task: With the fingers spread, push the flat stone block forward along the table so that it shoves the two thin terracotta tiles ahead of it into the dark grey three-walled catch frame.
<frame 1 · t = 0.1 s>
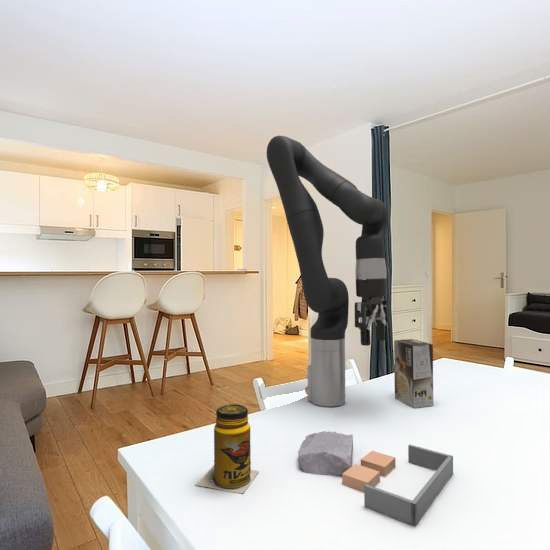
hand: (373, 342, 98), 17 cm above the table, tool pointing down, fingers open, 8 cm apart
tile b: (378, 469, 70), on the table
condiment: (228, 480, 67), on the table
coffee box: (413, 402, 106), on the table
stone block: (325, 462, 73), on the table
tile a: (361, 484, 65), on the table
catch frame: (412, 488, 63), on the table
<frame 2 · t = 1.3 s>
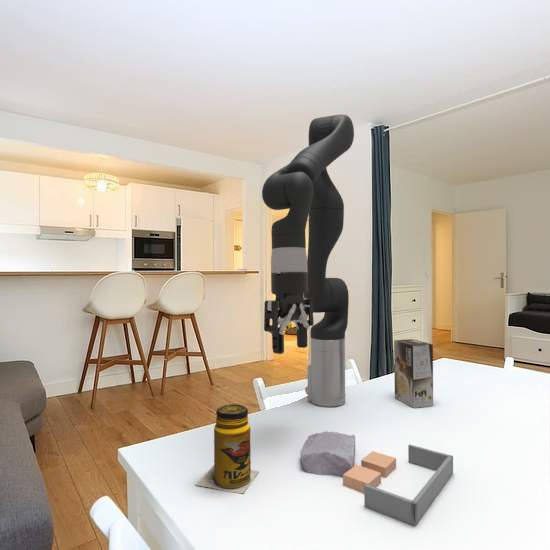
hand: (290, 350, 81), 19 cm above the table, tool pointing down, fingers open, 8 cm apart
stone block: (328, 462, 73), on the table, touching tile a
tile a: (362, 486, 65), on the table, touching stone block
everything else where it was.
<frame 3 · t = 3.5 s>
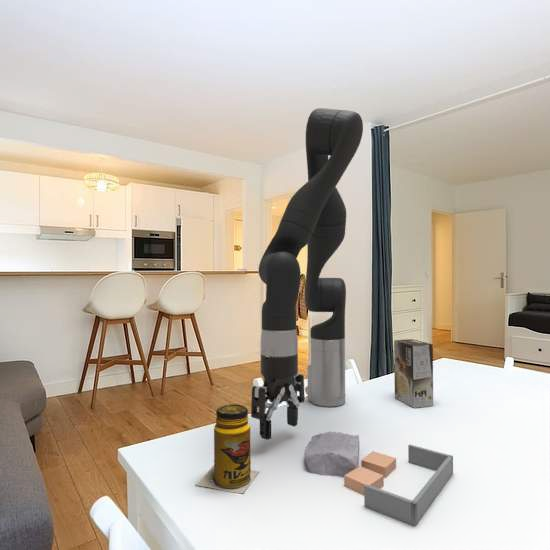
hand: (279, 431, 80), 3 cm above the table, tool pointing down, fingers open, 8 cm apart
stone block: (332, 462, 73), on the table
tile a: (363, 487, 64), on the table
everything else where it was.
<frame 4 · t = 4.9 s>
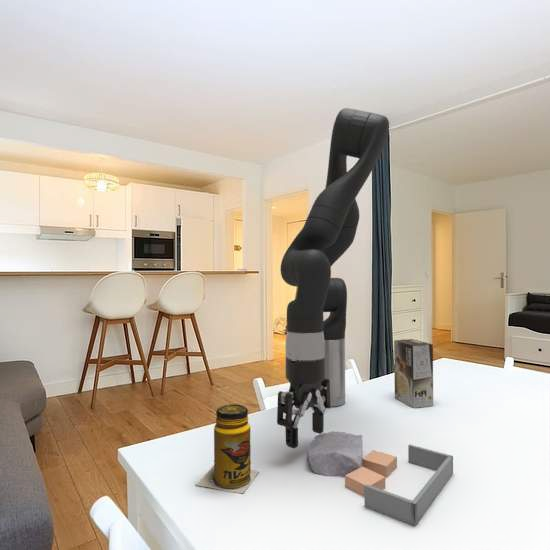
hand: (305, 439, 76), 3 cm above the table, tool pointing down, fingers open, 8 cm apart
stone block: (335, 462, 73), on the table, touching gripper
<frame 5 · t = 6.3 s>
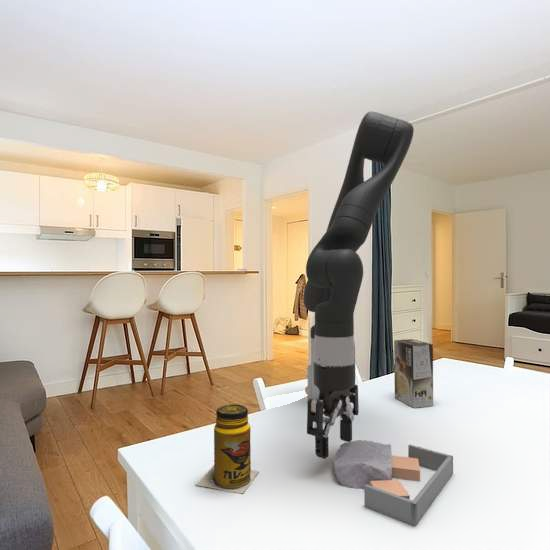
hand: (334, 448, 72), 2 cm above the table, tool pointing down, fingers open, 8 cm apart
tile b: (405, 474, 68), on the table
stone block: (362, 473, 69), on the table, touching gripper
tile a: (389, 501, 60), on the table, touching catch frame
everything else where it was.
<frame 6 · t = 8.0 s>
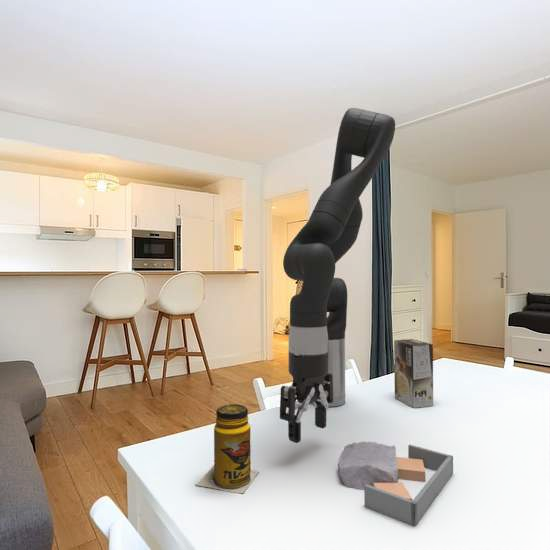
hand: (308, 434, 76), 4 cm above the table, tool pointing down, fingers open, 8 cm apart
tile b: (410, 475, 68), on the table, touching stone block
stone block: (367, 475, 68), on the table, touching tile b
tile a: (392, 503, 60), on the table
everything else where it was.
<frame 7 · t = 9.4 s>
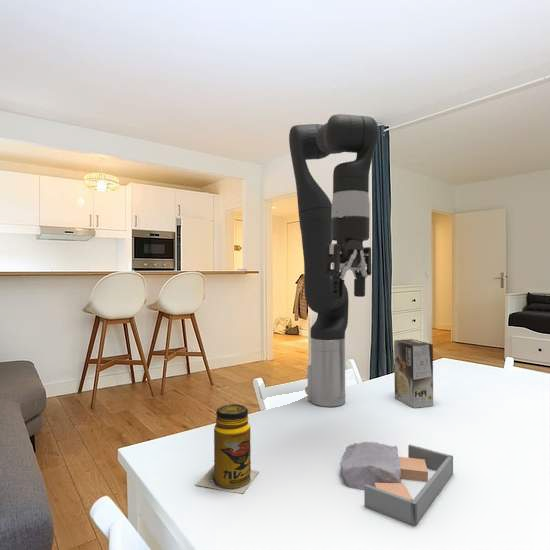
hand: (349, 297, 80), 29 cm above the table, tool pointing down, fingers open, 8 cm apart
tile b: (412, 475, 68), on the table
stone block: (369, 475, 68), on the table
everything else where it was.
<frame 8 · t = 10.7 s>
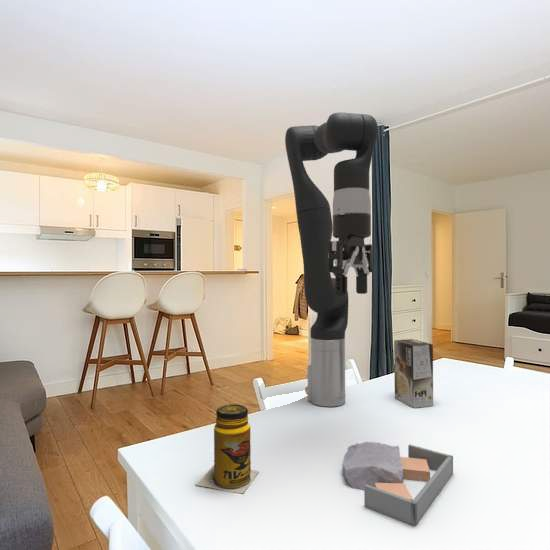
hand: (351, 294, 80), 30 cm above the table, tool pointing down, fingers open, 8 cm apart
at the end: tile a inside the target area (5.4 cm from its centre), on the table; tile b inside the target area (5.4 cm from its centre), on the table; stone block moved 9.1 cm from its start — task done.
